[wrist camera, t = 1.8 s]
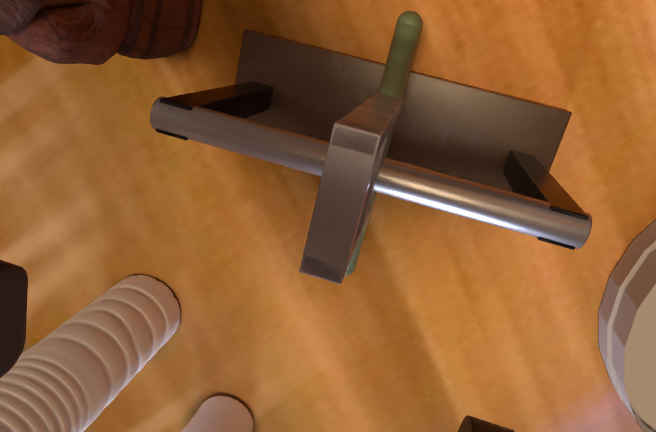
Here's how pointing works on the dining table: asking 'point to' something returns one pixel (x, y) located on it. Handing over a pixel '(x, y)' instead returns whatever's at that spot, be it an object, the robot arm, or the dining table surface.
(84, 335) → the water bottle
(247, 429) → the drinking glass
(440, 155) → the rail stand
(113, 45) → the wooden figurine
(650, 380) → the dish
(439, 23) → the dining table surface
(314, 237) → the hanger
